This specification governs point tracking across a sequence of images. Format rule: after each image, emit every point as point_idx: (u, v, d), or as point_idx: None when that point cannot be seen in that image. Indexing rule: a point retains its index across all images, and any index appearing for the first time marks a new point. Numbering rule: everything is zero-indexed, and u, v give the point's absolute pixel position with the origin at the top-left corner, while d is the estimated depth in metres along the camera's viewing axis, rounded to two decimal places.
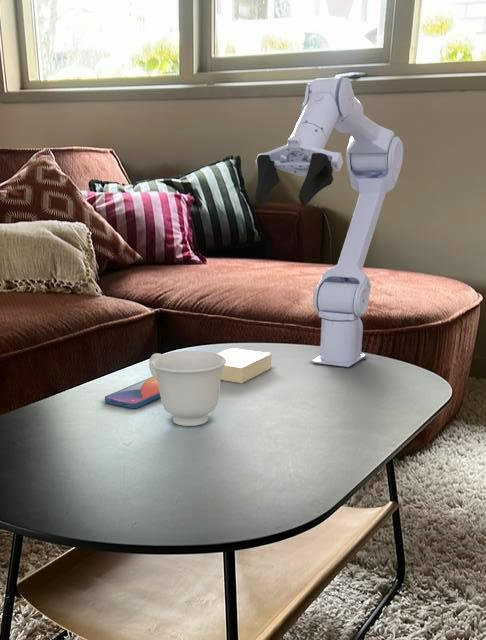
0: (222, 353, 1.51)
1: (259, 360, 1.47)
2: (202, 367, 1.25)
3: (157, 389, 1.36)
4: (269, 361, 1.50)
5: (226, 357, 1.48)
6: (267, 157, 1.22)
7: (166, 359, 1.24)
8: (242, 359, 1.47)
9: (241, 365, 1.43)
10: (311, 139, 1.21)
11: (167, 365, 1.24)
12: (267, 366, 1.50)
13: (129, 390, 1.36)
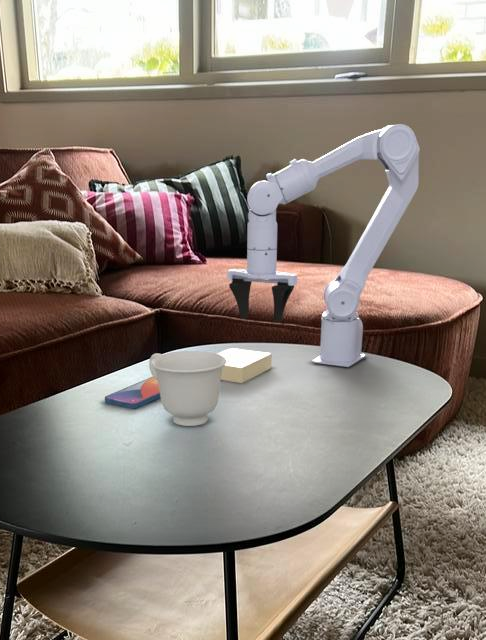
0: (222, 353, 1.51)
1: (259, 360, 1.47)
2: (202, 367, 1.25)
3: (157, 389, 1.36)
4: (269, 361, 1.50)
5: (226, 357, 1.48)
6: (237, 287, 1.50)
7: (166, 359, 1.24)
8: (242, 359, 1.47)
9: (241, 365, 1.43)
10: (265, 266, 1.46)
11: (167, 365, 1.24)
12: (267, 366, 1.50)
13: (129, 390, 1.36)
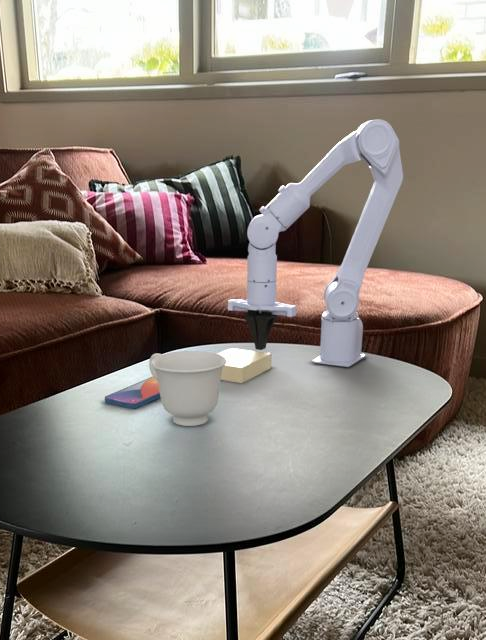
0: (222, 353, 1.51)
1: (259, 360, 1.47)
2: (202, 367, 1.25)
3: (157, 389, 1.36)
4: (269, 361, 1.50)
5: (226, 357, 1.48)
6: (252, 319, 1.51)
7: (166, 359, 1.24)
8: (242, 359, 1.47)
9: (241, 365, 1.43)
10: (265, 297, 1.49)
11: (167, 365, 1.24)
12: (267, 366, 1.50)
13: (129, 390, 1.36)
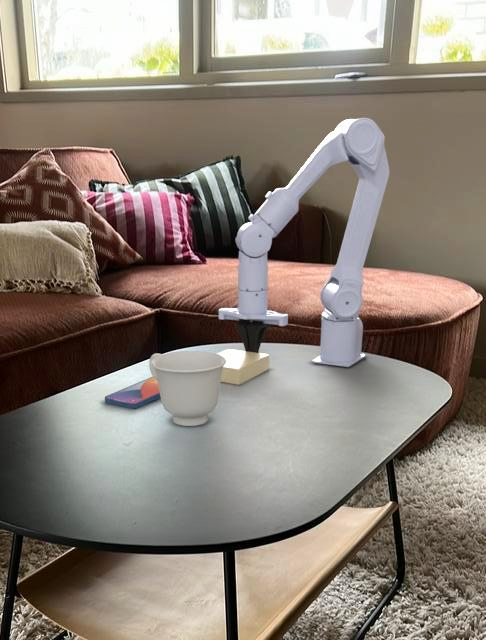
0: (219, 354, 1.50)
1: (256, 362, 1.46)
2: (202, 367, 1.25)
3: (157, 389, 1.36)
4: (267, 362, 1.50)
5: None
6: (243, 328, 1.49)
7: (166, 359, 1.24)
8: (239, 360, 1.46)
9: (239, 366, 1.42)
10: (256, 306, 1.46)
11: (167, 365, 1.24)
12: (265, 367, 1.49)
13: (129, 390, 1.36)
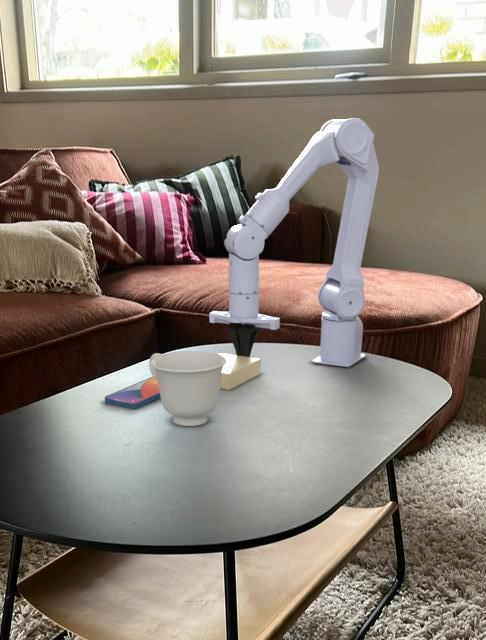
0: None
1: (247, 366, 1.43)
2: (202, 367, 1.25)
3: (157, 389, 1.36)
4: (258, 366, 1.47)
5: None
6: (234, 332, 1.46)
7: (166, 359, 1.24)
8: (230, 365, 1.43)
9: (229, 371, 1.39)
10: (247, 310, 1.44)
11: (167, 365, 1.24)
12: (256, 372, 1.47)
13: (129, 390, 1.36)
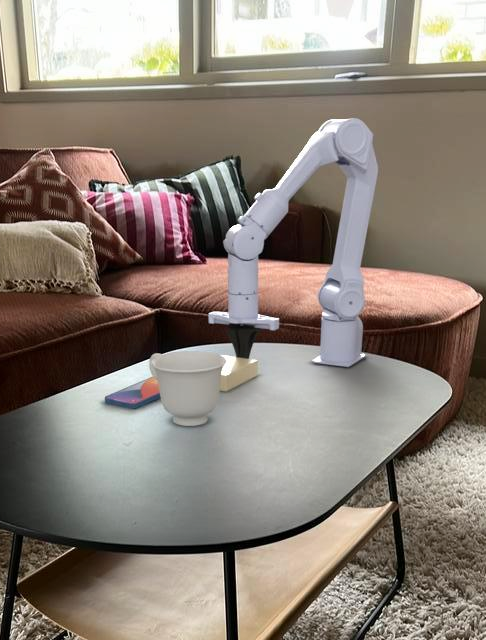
0: None
1: (244, 368, 1.42)
2: (202, 367, 1.25)
3: (157, 389, 1.36)
4: (255, 368, 1.46)
5: None
6: (234, 332, 1.46)
7: (166, 359, 1.24)
8: (227, 366, 1.42)
9: (226, 372, 1.38)
10: (246, 310, 1.43)
11: (167, 365, 1.24)
12: (253, 373, 1.46)
13: (129, 390, 1.36)
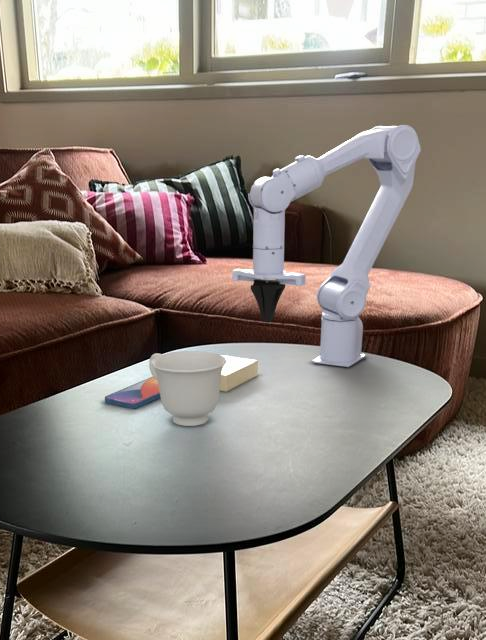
0: None
1: (244, 368, 1.42)
2: (202, 367, 1.25)
3: (157, 389, 1.36)
4: (255, 368, 1.46)
5: None
6: (259, 289, 1.43)
7: (166, 359, 1.24)
8: (227, 366, 1.42)
9: (226, 372, 1.38)
10: (272, 265, 1.40)
11: (167, 365, 1.24)
12: (253, 373, 1.46)
13: (129, 390, 1.36)
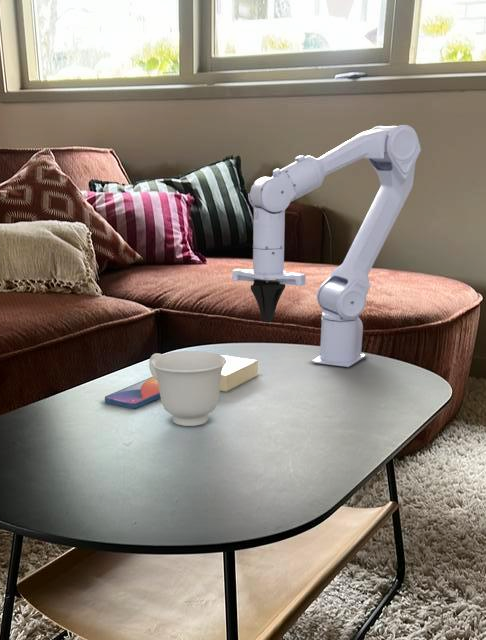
0: None
1: (244, 368, 1.42)
2: (202, 367, 1.25)
3: (157, 389, 1.36)
4: (255, 368, 1.46)
5: None
6: (259, 289, 1.43)
7: (166, 359, 1.24)
8: (227, 366, 1.42)
9: (226, 372, 1.38)
10: (272, 265, 1.40)
11: (167, 365, 1.24)
12: (253, 373, 1.46)
13: (129, 390, 1.36)
